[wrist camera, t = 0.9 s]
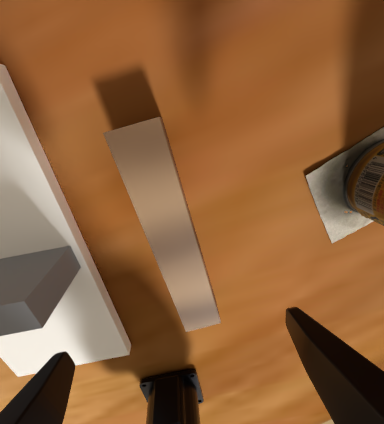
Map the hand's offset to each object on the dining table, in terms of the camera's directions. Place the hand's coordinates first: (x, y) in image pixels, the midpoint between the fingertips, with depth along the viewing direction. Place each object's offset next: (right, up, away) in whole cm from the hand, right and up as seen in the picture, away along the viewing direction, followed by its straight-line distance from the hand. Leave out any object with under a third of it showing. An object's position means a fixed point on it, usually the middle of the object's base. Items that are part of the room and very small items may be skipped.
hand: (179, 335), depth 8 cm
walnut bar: (-1, +4, +8) cm, 9 cm away
